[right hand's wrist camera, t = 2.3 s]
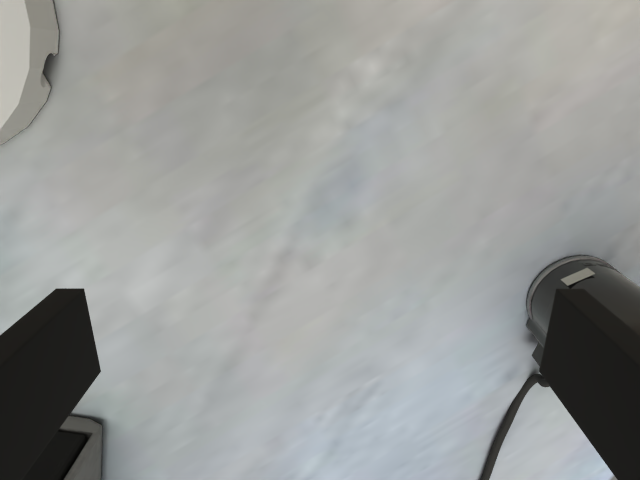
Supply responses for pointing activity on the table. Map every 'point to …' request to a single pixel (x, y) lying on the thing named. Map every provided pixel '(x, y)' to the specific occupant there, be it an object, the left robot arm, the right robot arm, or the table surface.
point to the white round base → (24, 61)
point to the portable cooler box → (71, 453)
